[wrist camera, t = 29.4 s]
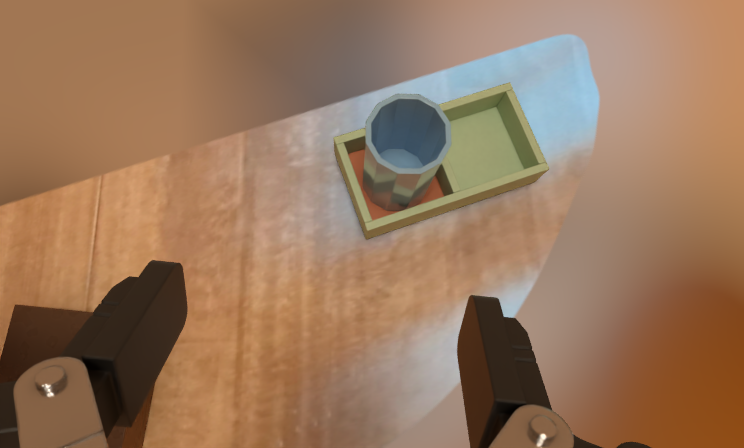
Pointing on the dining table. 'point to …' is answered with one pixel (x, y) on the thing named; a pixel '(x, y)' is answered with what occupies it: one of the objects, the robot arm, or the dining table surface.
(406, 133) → the cup
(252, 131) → the dining table surface
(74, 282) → the dining table surface
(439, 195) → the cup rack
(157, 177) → the dining table surface
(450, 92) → the dining table surface
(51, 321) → the brown square block
